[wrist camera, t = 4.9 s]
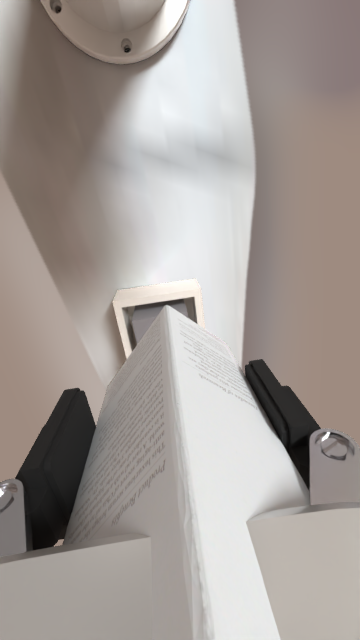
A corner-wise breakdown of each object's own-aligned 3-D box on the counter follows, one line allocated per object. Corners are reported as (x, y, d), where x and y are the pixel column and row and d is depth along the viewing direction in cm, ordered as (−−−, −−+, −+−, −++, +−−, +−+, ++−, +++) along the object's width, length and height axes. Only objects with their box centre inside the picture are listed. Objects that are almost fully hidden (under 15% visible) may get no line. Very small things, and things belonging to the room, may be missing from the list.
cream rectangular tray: (117, 289, 30) (111, 302, 27) (195, 278, 31) (201, 289, 27) (145, 408, 38) (144, 431, 34) (208, 398, 38) (214, 420, 34)
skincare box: (169, 416, 16) (189, 858, 5) (106, 384, 15) (-42, 864, 4) (231, 340, 15) (461, 745, 3) (167, 299, 13) (201, 702, 2)
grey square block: (135, 304, 30) (131, 323, 26) (183, 297, 30) (188, 315, 26) (144, 346, 32) (141, 371, 28) (188, 340, 33) (194, 362, 28)
